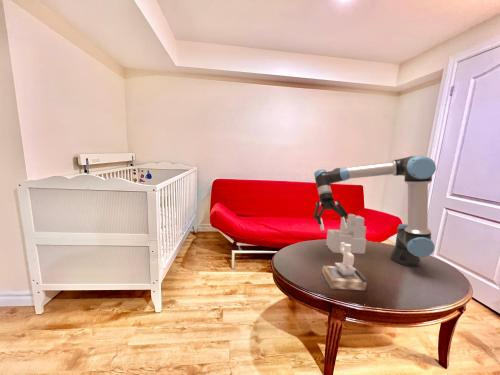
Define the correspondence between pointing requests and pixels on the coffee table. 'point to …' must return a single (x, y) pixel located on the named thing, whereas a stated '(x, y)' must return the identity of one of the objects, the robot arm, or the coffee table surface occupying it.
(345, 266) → the figurine
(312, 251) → the coffee table surface
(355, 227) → the building blocks
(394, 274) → the coffee table surface
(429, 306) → the coffee table surface
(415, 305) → the coffee table surface
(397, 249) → the robot arm
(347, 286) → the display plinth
